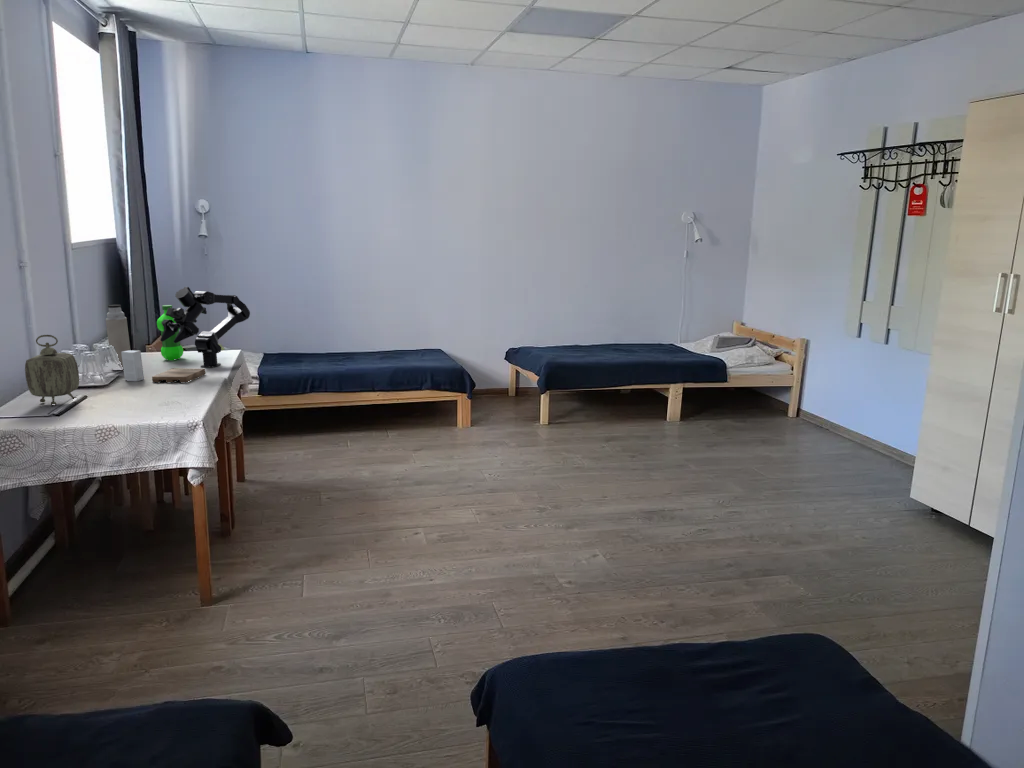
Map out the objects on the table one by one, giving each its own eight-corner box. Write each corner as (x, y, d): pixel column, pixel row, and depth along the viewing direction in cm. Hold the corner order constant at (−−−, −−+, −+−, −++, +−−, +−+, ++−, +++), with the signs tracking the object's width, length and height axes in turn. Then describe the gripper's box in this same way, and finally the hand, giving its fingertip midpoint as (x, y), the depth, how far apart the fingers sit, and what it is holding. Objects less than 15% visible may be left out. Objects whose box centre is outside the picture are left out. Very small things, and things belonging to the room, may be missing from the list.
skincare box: (144, 379, 303) (141, 350, 301) (137, 381, 299) (133, 352, 297) (131, 378, 305) (128, 350, 302) (124, 381, 301) (120, 351, 298)
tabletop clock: (82, 400, 270) (73, 332, 264) (72, 406, 261) (62, 336, 256) (39, 402, 268) (28, 333, 262) (27, 408, 259) (16, 337, 253)
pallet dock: (173, 374, 313) (172, 368, 312) (205, 374, 312) (204, 368, 311) (152, 382, 297) (152, 376, 297) (186, 383, 296) (185, 376, 296)
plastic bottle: (157, 359, 344) (151, 305, 339) (180, 356, 351) (175, 303, 346) (164, 362, 337) (158, 307, 332) (188, 359, 344) (182, 305, 338)
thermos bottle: (113, 367, 326) (105, 304, 320) (134, 366, 329) (126, 303, 322) (110, 371, 319) (102, 306, 312) (131, 370, 321) (123, 305, 315)
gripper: (164, 300, 315) (141, 327, 308) (191, 301, 305) (167, 329, 298) (182, 318, 323) (159, 345, 315) (209, 320, 313) (186, 348, 305)
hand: (167, 341), depth 308 cm, fingers open, 9 cm apart
